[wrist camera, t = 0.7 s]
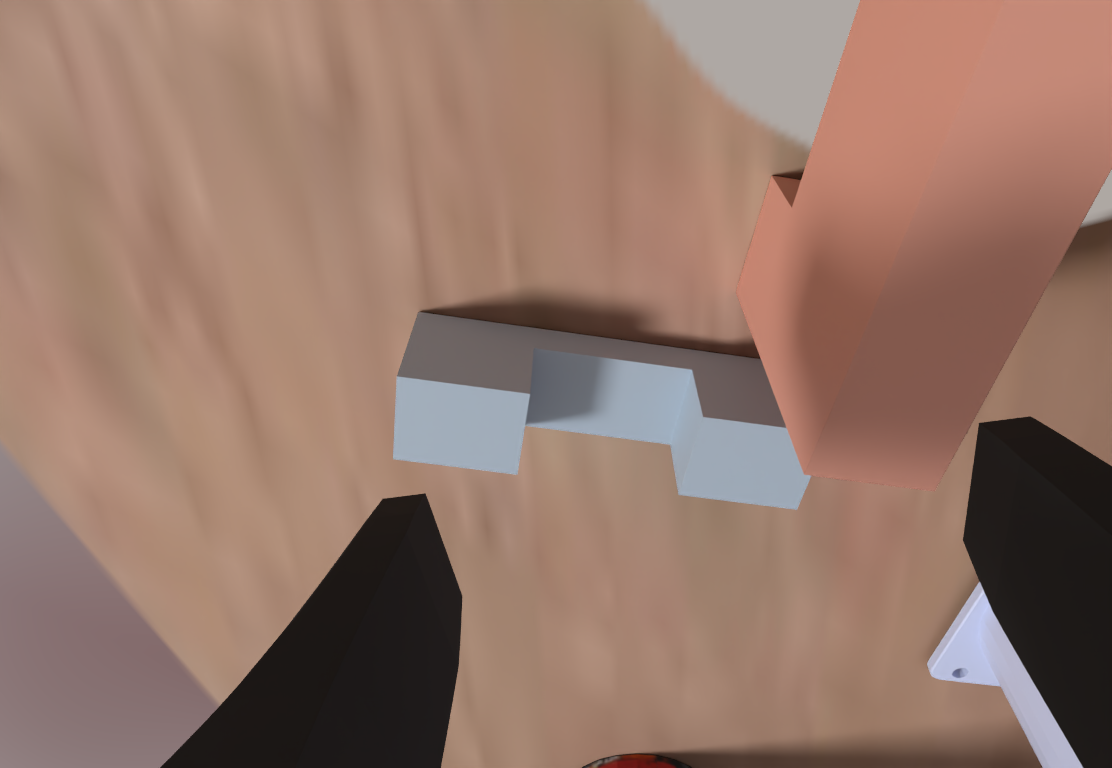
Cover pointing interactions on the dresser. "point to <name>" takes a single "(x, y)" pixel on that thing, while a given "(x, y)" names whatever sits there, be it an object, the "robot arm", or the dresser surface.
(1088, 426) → the dresser surface
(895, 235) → the pink rectangular block
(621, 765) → the deodorant
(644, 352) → the grey block
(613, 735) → the dresser surface
